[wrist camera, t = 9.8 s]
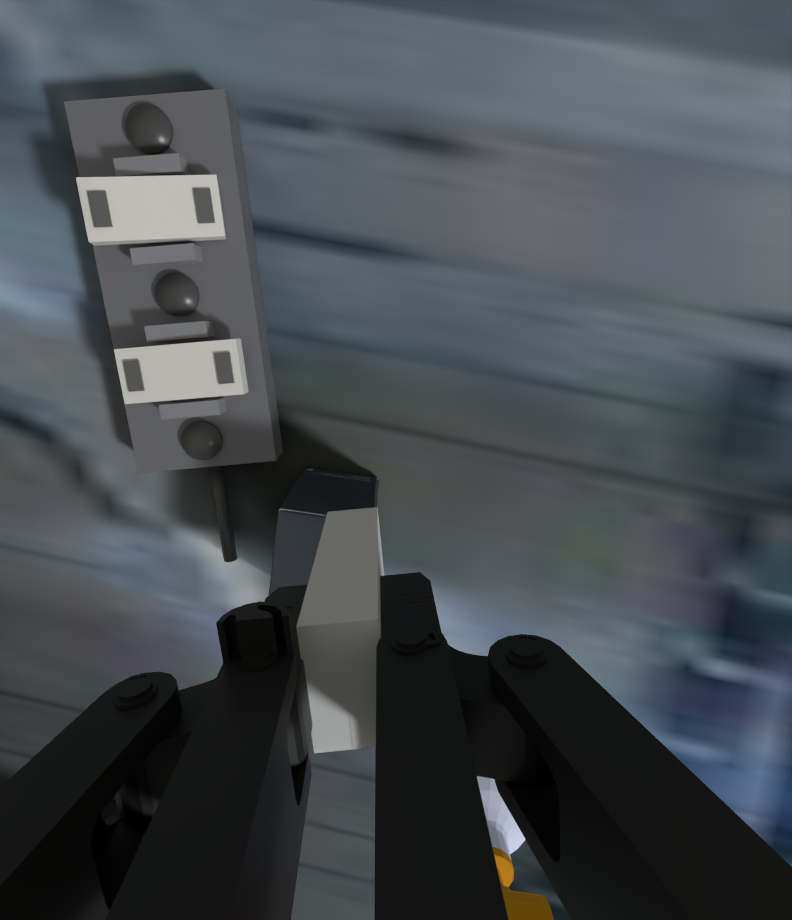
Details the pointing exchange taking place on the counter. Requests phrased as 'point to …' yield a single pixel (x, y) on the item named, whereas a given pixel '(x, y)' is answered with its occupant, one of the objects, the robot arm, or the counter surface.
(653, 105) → the counter surface
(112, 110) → the power strip
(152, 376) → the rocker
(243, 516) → the counter surface
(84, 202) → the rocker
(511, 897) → the soap bottle
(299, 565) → the small box
